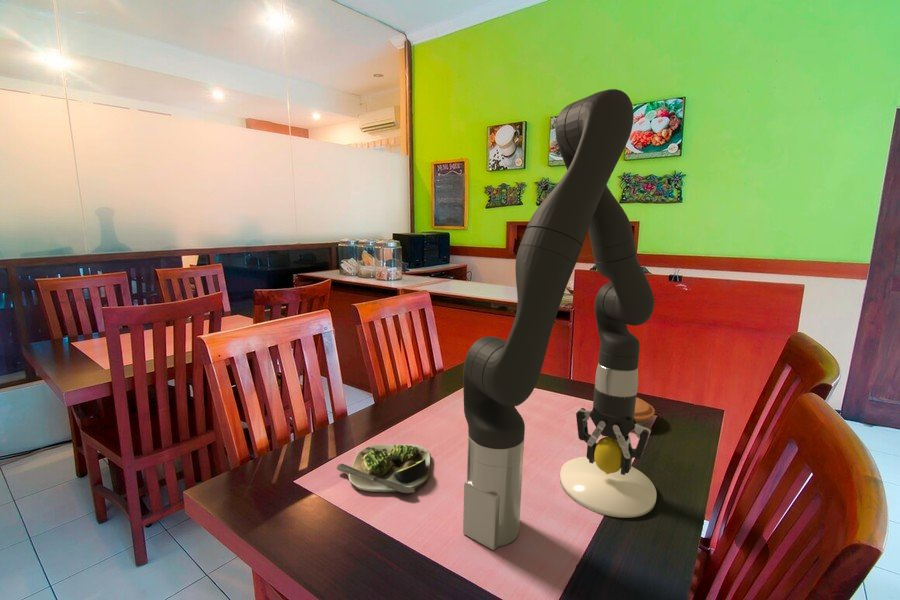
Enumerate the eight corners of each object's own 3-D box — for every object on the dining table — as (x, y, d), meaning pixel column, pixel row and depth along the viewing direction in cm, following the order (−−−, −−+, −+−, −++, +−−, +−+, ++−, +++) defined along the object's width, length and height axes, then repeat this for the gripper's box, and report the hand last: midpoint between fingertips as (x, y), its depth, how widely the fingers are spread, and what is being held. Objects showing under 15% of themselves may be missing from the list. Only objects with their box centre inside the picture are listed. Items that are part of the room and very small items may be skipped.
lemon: (624, 483, 80) (628, 445, 78) (594, 479, 81) (597, 442, 79) (619, 467, 85) (622, 431, 84) (591, 464, 86) (593, 428, 85)
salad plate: (325, 499, 78) (324, 477, 78) (348, 449, 96) (348, 430, 95) (427, 502, 78) (427, 480, 77) (432, 450, 96) (432, 432, 95)
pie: (665, 422, 112) (667, 404, 111) (632, 437, 103) (634, 419, 102) (614, 401, 124) (616, 385, 123) (581, 414, 115) (582, 397, 115)
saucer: (643, 532, 71) (644, 526, 71) (545, 490, 82) (545, 485, 81) (664, 482, 85) (665, 476, 85) (578, 452, 96) (579, 447, 95)
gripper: (571, 383, 81) (565, 462, 84) (651, 404, 72) (641, 490, 75) (585, 373, 87) (579, 447, 90) (660, 390, 78) (651, 471, 81)
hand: (607, 466), depth 83 cm, fingers closed on lemon, 5 cm apart
